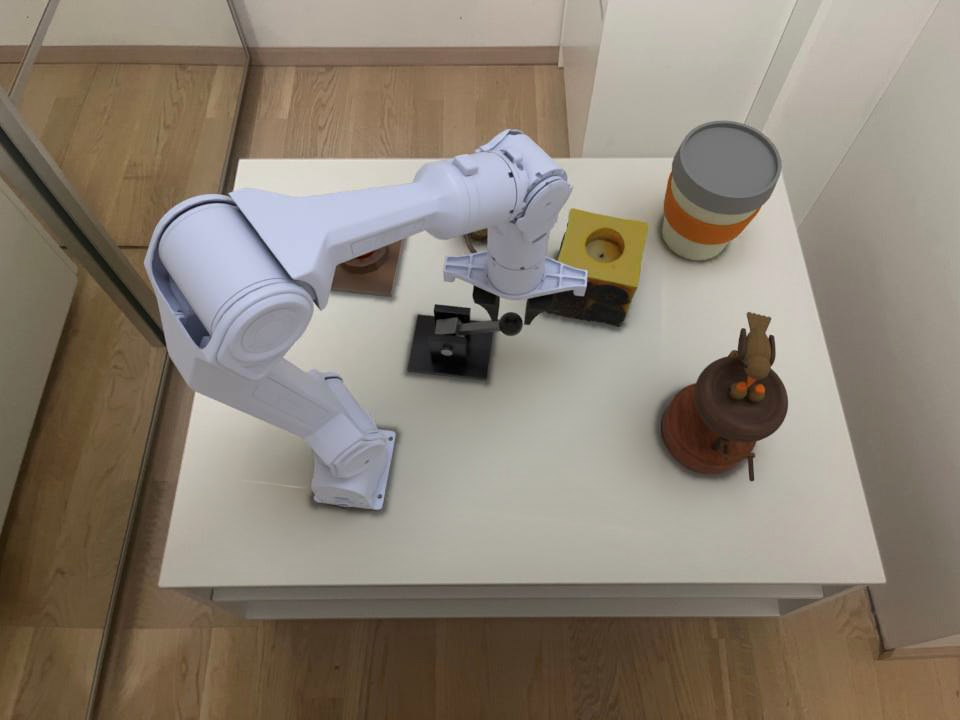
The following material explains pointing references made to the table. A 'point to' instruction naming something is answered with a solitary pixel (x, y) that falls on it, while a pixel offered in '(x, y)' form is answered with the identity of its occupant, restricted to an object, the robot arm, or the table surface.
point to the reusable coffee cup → (717, 187)
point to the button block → (369, 272)
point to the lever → (480, 326)
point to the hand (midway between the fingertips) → (511, 315)
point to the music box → (728, 406)
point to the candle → (601, 266)
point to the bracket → (449, 347)
